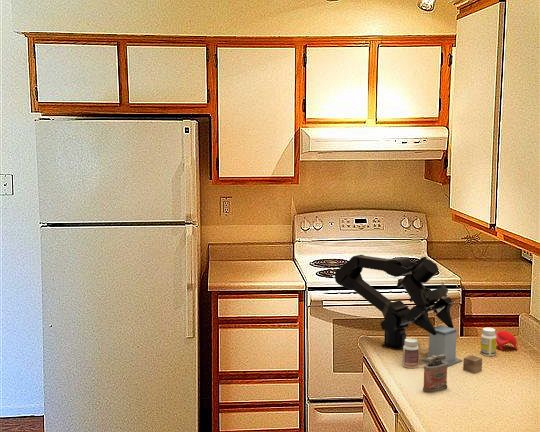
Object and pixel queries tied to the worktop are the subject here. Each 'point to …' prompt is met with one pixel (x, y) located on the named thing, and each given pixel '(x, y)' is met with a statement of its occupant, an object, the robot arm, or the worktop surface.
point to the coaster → (448, 362)
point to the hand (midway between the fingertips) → (444, 331)
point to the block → (472, 364)
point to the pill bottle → (410, 353)
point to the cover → (443, 343)
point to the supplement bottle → (488, 342)
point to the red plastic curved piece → (505, 339)
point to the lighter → (435, 374)
